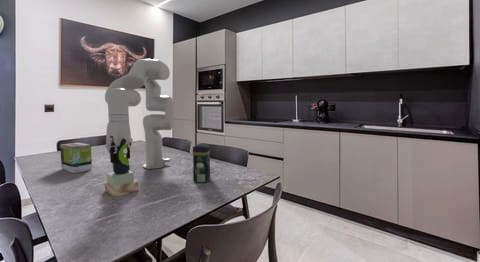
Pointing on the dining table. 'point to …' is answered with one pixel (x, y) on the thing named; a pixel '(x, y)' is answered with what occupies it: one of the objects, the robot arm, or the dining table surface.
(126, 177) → the sage brick
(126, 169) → the beverage can
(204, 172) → the coffee jar
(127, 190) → the beech base brick
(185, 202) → the dining table surface
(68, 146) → the tea box
